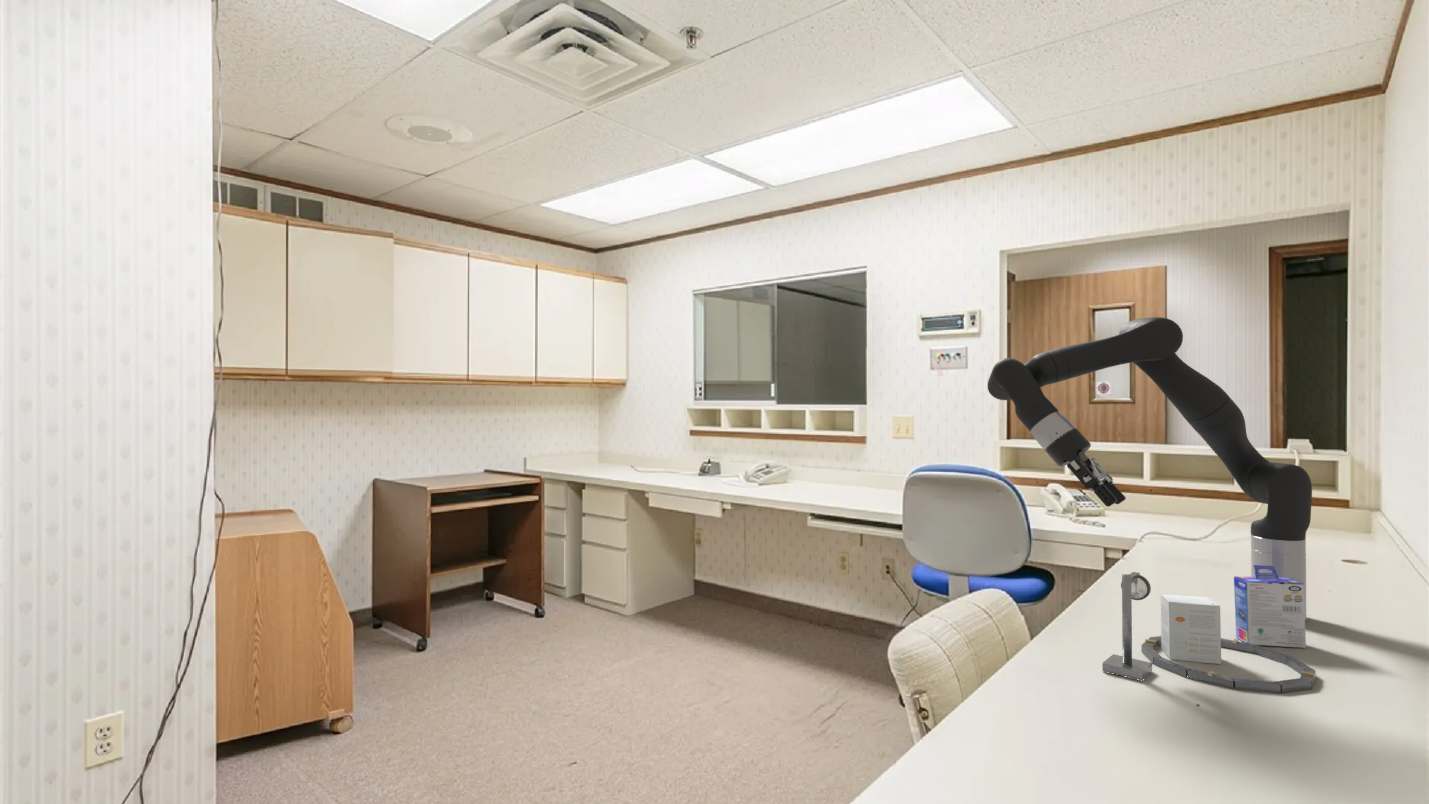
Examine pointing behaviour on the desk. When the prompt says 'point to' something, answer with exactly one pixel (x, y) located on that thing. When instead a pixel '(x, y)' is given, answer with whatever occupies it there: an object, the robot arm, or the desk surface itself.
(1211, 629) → the small box
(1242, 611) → the ink cartridge box
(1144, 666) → the dial gauge stand
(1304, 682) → the ring
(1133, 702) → the desk surface
